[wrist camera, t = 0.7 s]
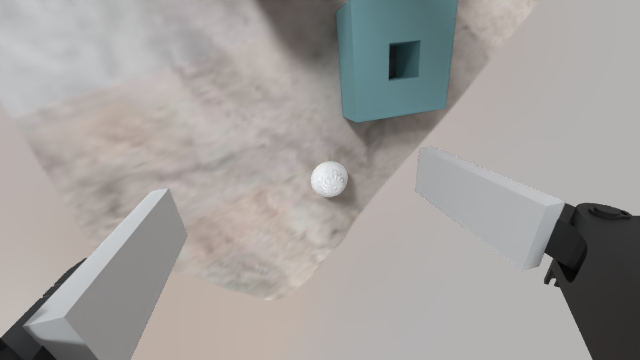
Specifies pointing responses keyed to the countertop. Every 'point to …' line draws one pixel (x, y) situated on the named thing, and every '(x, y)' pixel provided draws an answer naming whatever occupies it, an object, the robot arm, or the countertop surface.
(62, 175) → the countertop surface
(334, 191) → the white ribbed jar
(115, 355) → the robot arm
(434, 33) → the hole block
